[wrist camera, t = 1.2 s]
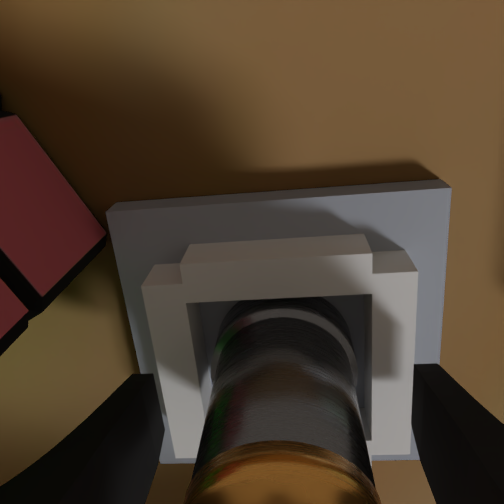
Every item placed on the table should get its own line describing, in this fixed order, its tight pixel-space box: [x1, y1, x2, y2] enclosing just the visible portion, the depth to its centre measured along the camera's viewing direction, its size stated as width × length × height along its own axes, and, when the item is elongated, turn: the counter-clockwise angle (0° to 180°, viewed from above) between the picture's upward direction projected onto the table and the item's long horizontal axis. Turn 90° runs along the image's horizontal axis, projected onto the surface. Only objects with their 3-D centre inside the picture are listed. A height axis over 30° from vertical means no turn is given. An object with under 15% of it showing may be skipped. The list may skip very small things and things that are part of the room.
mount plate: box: [106, 179, 451, 467], centre depth 15 cm, size 10×10×2 cm
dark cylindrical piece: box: [184, 296, 381, 504], centre depth 12 cm, size 4×4×7 cm
